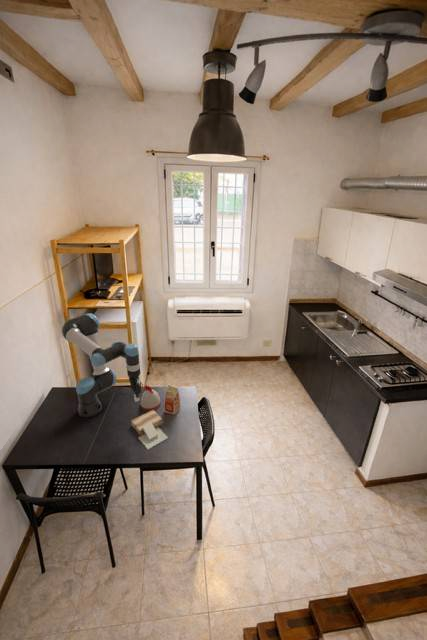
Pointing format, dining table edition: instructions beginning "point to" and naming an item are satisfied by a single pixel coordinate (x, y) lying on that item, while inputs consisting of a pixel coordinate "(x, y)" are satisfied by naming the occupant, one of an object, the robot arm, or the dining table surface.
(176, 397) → the milk carton
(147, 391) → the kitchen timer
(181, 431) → the dining table surface
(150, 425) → the white flat block
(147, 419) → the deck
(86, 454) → the dining table surface
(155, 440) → the mat
